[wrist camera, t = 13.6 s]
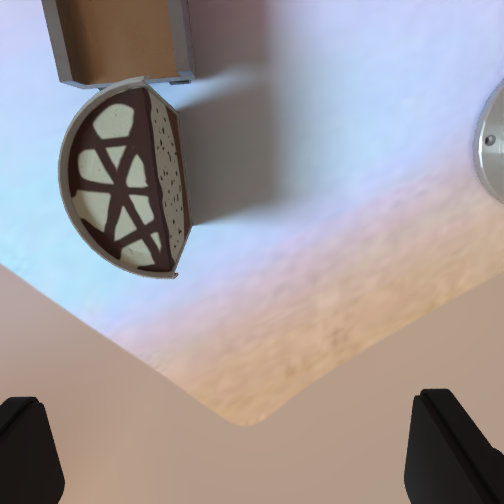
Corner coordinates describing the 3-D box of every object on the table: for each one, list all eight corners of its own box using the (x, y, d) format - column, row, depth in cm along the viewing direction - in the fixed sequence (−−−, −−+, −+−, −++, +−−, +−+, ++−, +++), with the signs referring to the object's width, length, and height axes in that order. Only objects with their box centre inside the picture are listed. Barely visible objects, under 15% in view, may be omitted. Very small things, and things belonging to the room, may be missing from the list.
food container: (97, 97, 28) (21, 76, 18) (175, 92, 28) (139, 67, 18) (125, 247, 32) (74, 294, 22) (194, 242, 32) (172, 287, 22)
